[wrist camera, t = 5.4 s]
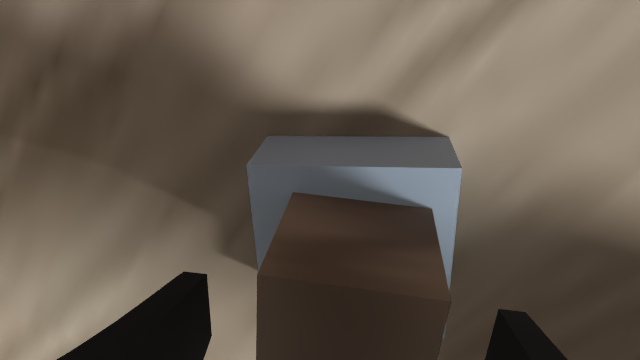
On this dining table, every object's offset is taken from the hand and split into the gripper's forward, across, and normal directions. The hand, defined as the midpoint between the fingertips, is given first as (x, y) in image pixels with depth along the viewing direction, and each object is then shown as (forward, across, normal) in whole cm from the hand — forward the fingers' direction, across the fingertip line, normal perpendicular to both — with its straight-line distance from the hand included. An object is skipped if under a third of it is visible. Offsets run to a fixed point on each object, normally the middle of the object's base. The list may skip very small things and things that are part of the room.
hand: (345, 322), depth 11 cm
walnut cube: (+3, 0, 0) cm, 3 cm away
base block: (+6, 0, 0) cm, 6 cm away
